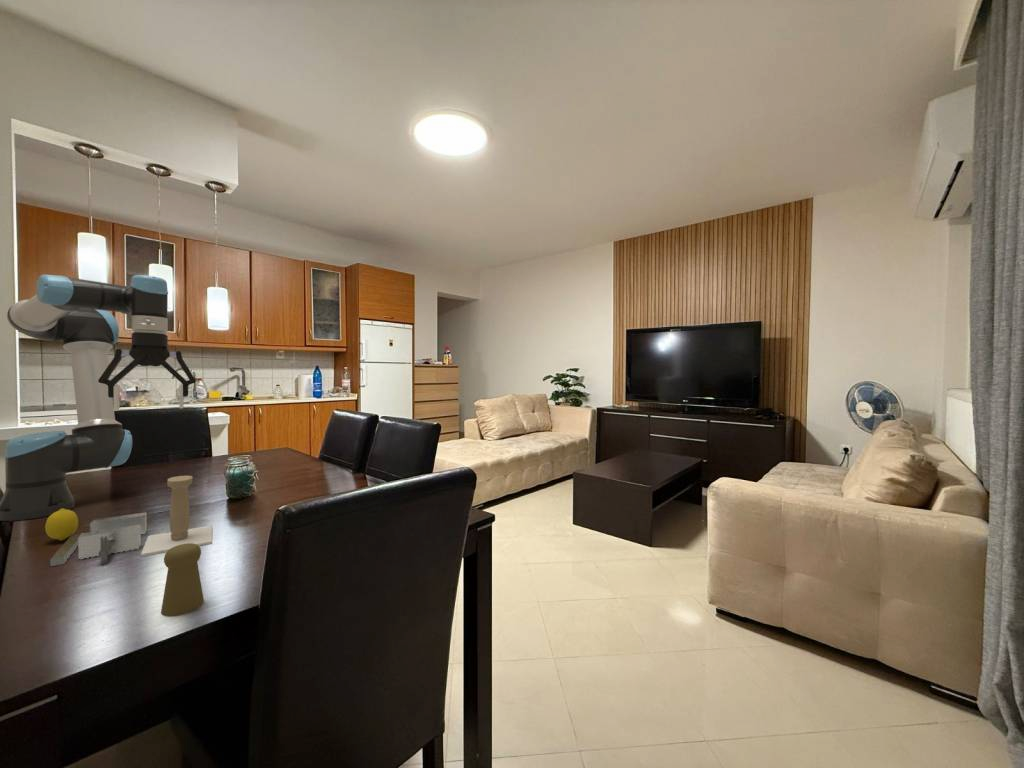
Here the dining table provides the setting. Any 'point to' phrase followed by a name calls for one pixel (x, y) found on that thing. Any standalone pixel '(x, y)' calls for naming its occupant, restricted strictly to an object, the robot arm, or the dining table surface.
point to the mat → (164, 541)
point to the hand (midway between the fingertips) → (150, 409)
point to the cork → (182, 580)
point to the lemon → (61, 524)
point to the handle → (179, 506)
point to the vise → (104, 538)
